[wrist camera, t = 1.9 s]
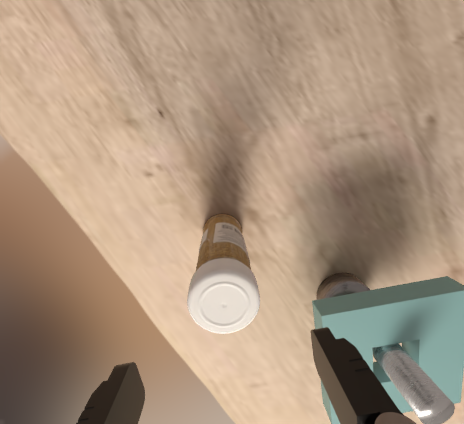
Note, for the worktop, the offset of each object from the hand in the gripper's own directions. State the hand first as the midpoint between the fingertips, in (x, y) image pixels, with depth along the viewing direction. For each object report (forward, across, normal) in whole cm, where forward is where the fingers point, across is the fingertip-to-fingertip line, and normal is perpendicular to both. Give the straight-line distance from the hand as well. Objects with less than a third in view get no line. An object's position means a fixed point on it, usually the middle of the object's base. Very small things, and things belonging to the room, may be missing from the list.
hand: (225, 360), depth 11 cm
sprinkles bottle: (+18, 0, 0) cm, 18 cm away
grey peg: (+17, -13, +11) cm, 24 cm away
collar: (+9, -13, +11) cm, 19 cm away
